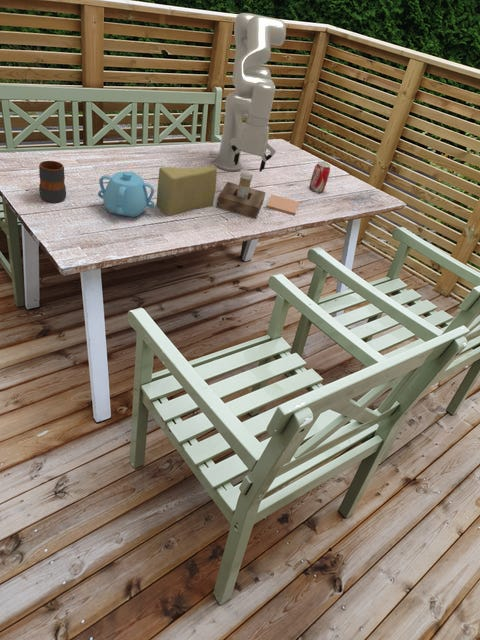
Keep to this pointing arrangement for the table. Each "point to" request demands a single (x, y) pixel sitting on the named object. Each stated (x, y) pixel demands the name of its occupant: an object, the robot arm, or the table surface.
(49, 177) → the mug
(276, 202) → the terracotta tile
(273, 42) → the robot arm
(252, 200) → the frame
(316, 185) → the soda can
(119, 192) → the decorative pot
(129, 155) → the table surface
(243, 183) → the sprinkles bottle
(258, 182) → the table surface
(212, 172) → the cheese
